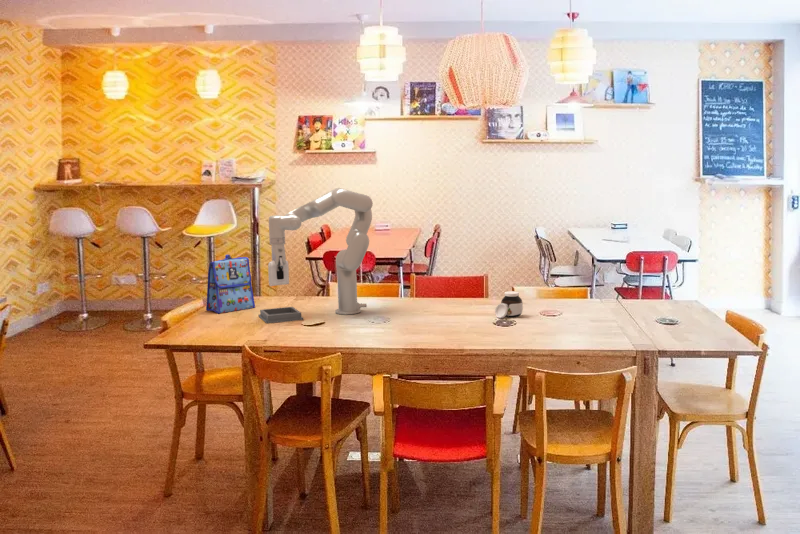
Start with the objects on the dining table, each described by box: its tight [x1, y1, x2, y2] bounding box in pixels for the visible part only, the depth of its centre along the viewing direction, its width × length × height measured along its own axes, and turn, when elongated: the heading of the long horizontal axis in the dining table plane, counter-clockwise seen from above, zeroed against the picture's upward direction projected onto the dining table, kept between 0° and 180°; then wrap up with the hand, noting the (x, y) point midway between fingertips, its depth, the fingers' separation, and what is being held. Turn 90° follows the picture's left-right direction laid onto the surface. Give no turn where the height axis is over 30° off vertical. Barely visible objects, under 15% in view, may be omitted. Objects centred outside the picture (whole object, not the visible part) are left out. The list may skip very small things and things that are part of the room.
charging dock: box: [258, 306, 304, 325], centre depth 420 cm, size 18×18×4 cm
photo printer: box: [267, 260, 290, 287], centre depth 416 cm, size 10×4×12 cm, turn 123°
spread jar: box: [494, 290, 524, 319], centre depth 411 cm, size 12×11×12 cm
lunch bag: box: [205, 254, 256, 314], centre depth 443 cm, size 22×14×29 cm, turn 131°
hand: (279, 277), depth 417 cm, fingers closed on photo printer, 4 cm apart
